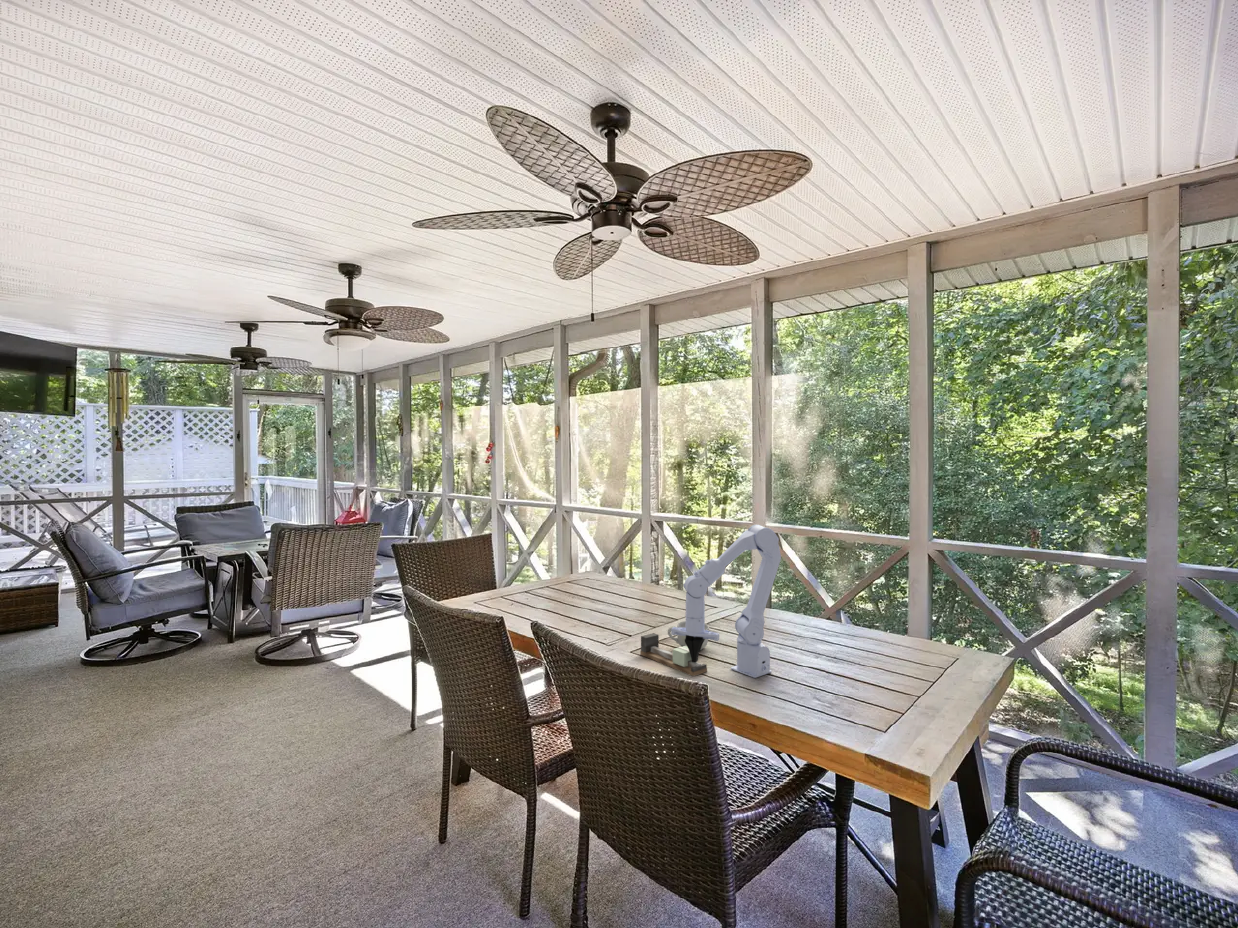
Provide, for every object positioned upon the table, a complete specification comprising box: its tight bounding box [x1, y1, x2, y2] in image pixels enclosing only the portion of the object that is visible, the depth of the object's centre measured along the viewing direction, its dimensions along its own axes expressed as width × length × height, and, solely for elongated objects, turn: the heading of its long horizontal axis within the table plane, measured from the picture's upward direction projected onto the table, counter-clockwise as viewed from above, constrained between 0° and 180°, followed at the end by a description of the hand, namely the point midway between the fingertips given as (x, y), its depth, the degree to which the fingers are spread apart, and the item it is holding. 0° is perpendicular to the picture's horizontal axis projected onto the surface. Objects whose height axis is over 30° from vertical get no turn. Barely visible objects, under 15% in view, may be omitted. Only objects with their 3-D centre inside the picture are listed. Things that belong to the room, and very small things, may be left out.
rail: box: [639, 632, 708, 677], centre depth 182 cm, size 24×6×6 cm, turn 38°
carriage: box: [672, 646, 691, 667], centre depth 178 cm, size 5×5×4 cm
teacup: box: [667, 620, 710, 651], centre depth 196 cm, size 14×11×8 cm
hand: (694, 661), depth 175 cm, fingers closed
